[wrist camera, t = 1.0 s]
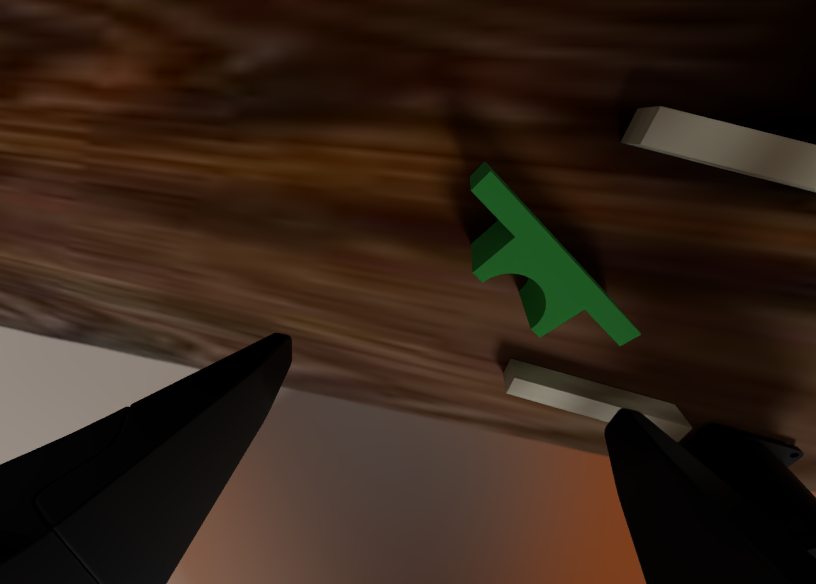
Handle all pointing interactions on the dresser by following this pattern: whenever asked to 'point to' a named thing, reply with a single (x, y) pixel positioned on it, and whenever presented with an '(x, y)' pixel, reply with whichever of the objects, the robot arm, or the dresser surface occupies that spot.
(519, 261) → the pipe clamp
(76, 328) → the dresser surface
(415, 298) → the dresser surface
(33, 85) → the dresser surface
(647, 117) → the slot rails
